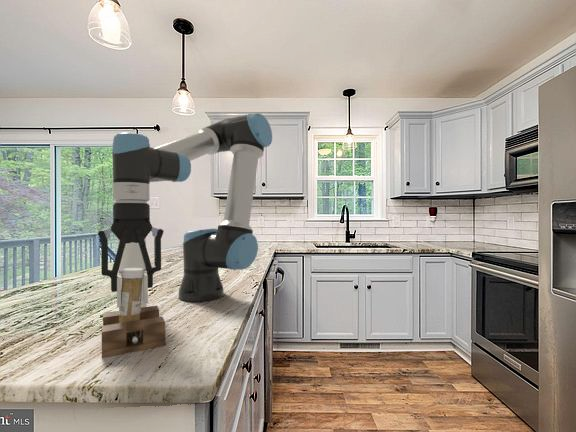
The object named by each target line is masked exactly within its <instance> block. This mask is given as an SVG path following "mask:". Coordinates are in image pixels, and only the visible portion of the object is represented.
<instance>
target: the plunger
mask: <svg viewBox="0 0 576 432" xmlns="http://www.w3.org/2000/svg"><path fill="white" fill-rule="evenodd" d="M139 334H140V331H134V332H129V333H128V336H129V338H131V339H132V341H133V343H134V344H135V343H137V342H138V338H137V337H138V336H139Z"/></svg>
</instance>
